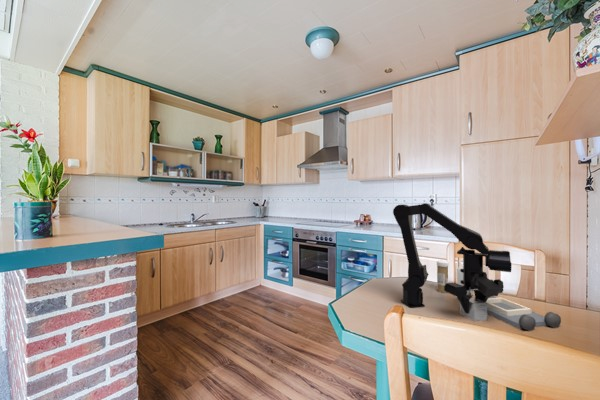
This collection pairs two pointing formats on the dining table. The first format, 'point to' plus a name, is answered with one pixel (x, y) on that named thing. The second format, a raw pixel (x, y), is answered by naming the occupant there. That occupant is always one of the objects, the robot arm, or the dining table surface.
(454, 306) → the dining table surface
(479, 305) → the block
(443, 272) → the sprinkles bottle
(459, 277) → the small box
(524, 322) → the chassis
